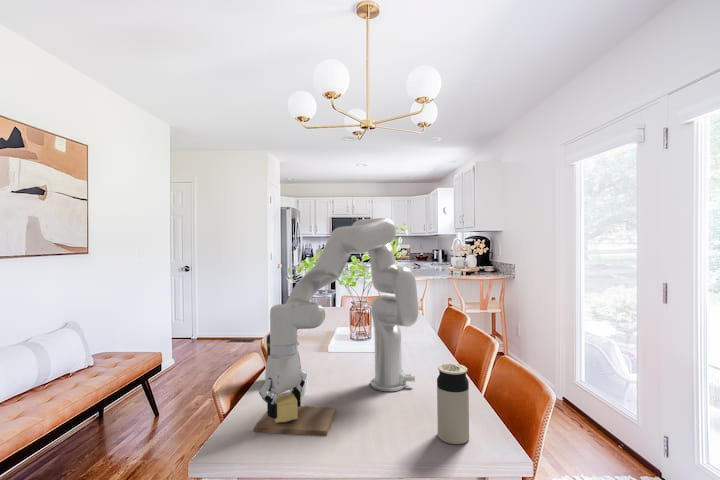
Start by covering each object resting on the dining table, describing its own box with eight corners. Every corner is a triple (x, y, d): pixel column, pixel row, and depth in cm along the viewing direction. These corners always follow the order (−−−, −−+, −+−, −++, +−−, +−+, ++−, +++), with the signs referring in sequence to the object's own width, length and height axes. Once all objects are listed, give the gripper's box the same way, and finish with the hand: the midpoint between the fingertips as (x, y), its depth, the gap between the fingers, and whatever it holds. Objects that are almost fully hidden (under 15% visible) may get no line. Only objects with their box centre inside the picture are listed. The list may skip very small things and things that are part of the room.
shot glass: (291, 399, 122) (291, 377, 122) (285, 392, 128) (285, 371, 128) (311, 395, 125) (311, 374, 125) (304, 388, 131) (304, 368, 131)
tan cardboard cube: (272, 413, 107) (271, 396, 107) (292, 409, 109) (292, 392, 109) (275, 422, 101) (275, 404, 101) (297, 418, 104) (297, 400, 104)
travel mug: (442, 446, 93) (441, 373, 93) (434, 430, 101) (433, 363, 101) (473, 444, 94) (472, 372, 94) (463, 428, 101) (462, 362, 102)
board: (336, 411, 113) (335, 407, 113) (326, 435, 99) (326, 430, 99) (271, 408, 115) (271, 404, 115) (253, 431, 101) (253, 427, 101)
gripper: (297, 340, 115) (297, 397, 115) (249, 354, 101) (250, 419, 101) (315, 344, 110) (315, 403, 110) (268, 359, 96) (268, 427, 96)
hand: (284, 410), depth 105 cm, fingers closed on tan cardboard cube, 8 cm apart
